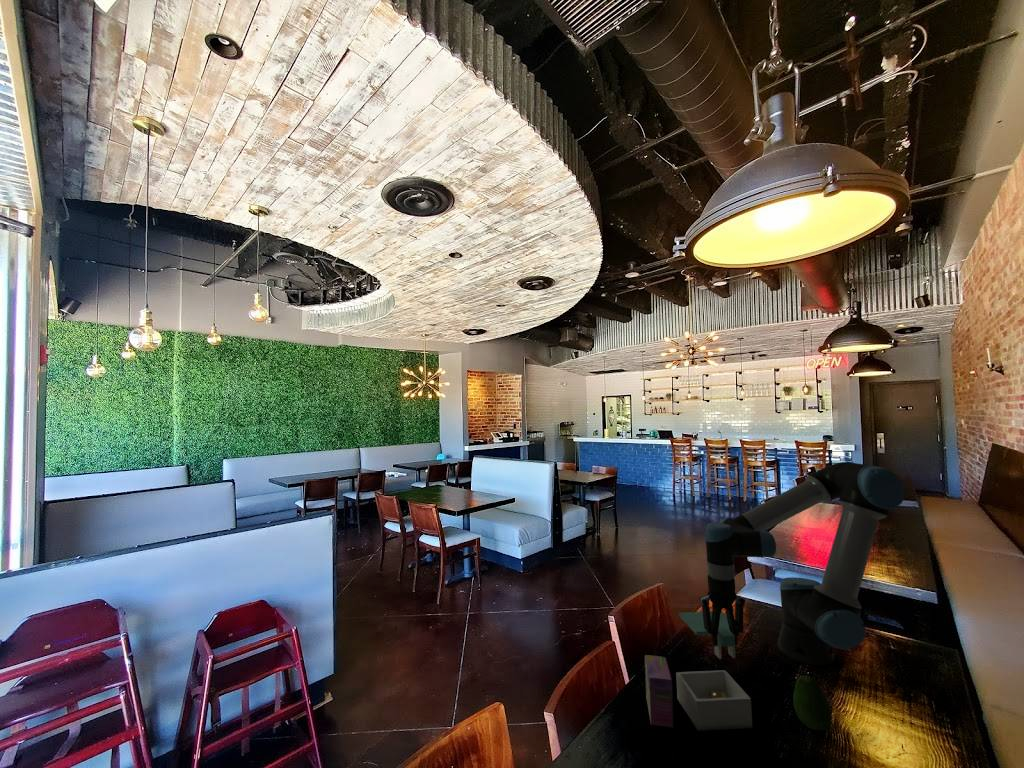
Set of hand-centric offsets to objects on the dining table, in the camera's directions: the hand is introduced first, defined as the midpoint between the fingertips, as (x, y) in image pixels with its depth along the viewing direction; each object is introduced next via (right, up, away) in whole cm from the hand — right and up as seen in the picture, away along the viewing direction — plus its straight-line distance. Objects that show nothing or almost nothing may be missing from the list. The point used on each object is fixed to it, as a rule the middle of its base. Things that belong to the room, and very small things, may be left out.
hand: (725, 655), depth 127 cm
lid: (0, +3, +7) cm, 7 cm away
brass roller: (-8, -5, -14) cm, 17 cm away
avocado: (+11, -4, -22) cm, 25 cm away
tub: (-11, -5, -16) cm, 20 cm away
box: (-25, -6, -15) cm, 30 cm away
